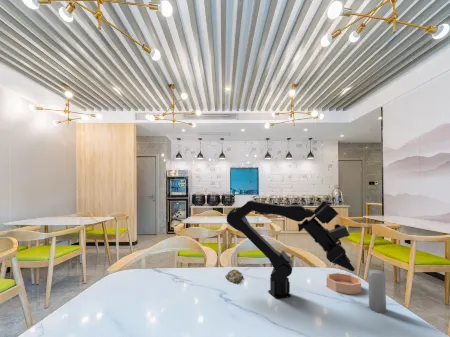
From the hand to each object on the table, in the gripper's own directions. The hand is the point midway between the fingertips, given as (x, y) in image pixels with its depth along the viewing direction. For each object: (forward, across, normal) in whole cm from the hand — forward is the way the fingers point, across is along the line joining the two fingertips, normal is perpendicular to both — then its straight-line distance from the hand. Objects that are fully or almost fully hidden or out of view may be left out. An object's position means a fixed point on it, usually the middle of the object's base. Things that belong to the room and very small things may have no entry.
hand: (351, 266), depth 88 cm
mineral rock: (-23, +9, +42) cm, 49 cm away
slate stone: (+15, 0, +4) cm, 15 cm away
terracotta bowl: (+9, +16, +10) cm, 21 cm away
